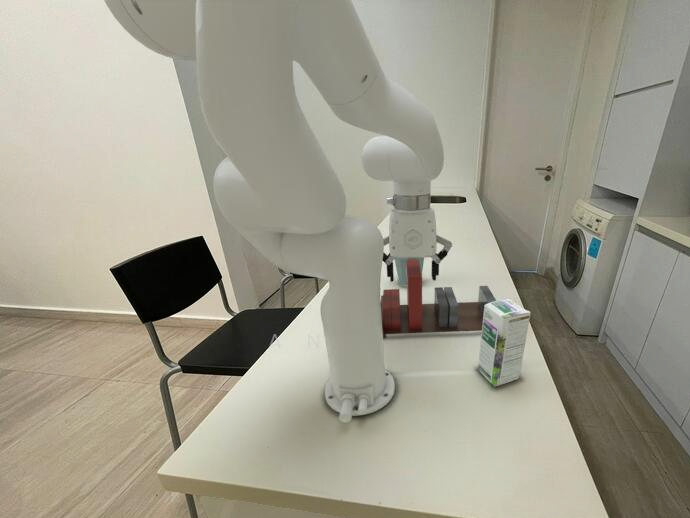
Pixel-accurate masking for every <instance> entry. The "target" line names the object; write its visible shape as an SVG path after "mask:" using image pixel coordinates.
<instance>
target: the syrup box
mask: <svg viewBox="0 0 690 518" xmlns="http://www.w3.org/2000/svg"><path fill="white" fill-rule="evenodd" d="M530 319H531V311H529V310H527V309H526V308H524V307H523V306H521V305H520V304H518V303H516V302H515V301H513V300H512V299H510V298H509V299H500V300H496V301H495V302H491V303H488V304H485V306H484V315H483V325H482V331H481V336H480V345H479V355H478V361H477V367H478V368H477V371H479V373H481V375H482V376H483V377H484V378H485V379H486V380H487V381H488V382H489V383H490V384H491V385H492V386H493V387H494V388H496V387H498V386H502V385H504V384H508V383H511V382H513V381H516V380H519V379H520V374H521V369H522V363H523V358H524V354H525V353H524V352H525V346H526V341H527V337H528V336H527V335H528V329H529V326H530V325H529V324H530Z"/></svg>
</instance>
